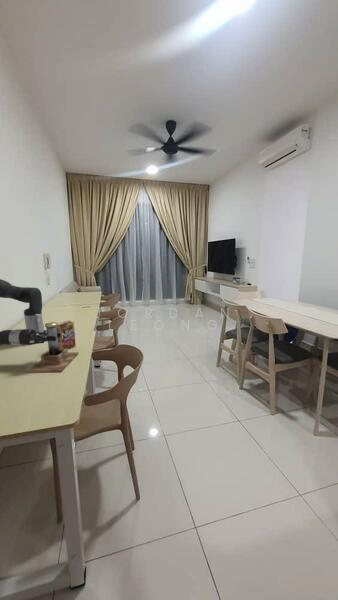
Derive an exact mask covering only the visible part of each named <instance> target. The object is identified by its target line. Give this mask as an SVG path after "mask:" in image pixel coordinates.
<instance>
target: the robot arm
mask: <svg viewBox="0 0 338 600" xmlns="http://www.w3.org/2000/svg"><path fill="white" fill-rule="evenodd" d="M42 295H43V294H42V291H41V290H40V289H39V288H38V287H32V286H31V287H30V286H29V287H26V286H24V287H23V286H22V287H21V286H16V285H14V284H13V285H12V283H10V282H9V281H7V280H5V279H1V278H0V298H1V299H11V300H15V301H17V302H20V303H25V304H29V305H28V308H25V309H24V310H23V315H24V323H25V324H24V325H25V328H22V329H21V328H20V329H19V328H18V329H4V330H3V329H2V330H0V346H4V345H6V346H8V345H15V346H32V345H37V344H44V343H48V341H56V336H48V337H47V330H45V324H44V322H43V320H44V319H43V313H42V311H43V298H42V297H43V296H42ZM57 336H58V338H60V337H61V333H57Z"/></svg>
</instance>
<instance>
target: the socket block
mask: <svg viewBox="0 0 338 600" xmlns="http://www.w3.org/2000/svg"><path fill="white" fill-rule="evenodd" d="M68 350H69V349H59V354H57V355H49V350H47V351H45V353H43V354H42V355H41V356H40V360H39V361H38V362H37V363H36V364H34V365H33V366H32V367H30V368H29V369H28V373H63V371H65V369H66V368H67V367H68V366H69V365H70V364H71V363H72V362H73V360H74V359H76V357H77V356H78V355H79V354H80V352H78V351H72V352H71V351H68Z"/></svg>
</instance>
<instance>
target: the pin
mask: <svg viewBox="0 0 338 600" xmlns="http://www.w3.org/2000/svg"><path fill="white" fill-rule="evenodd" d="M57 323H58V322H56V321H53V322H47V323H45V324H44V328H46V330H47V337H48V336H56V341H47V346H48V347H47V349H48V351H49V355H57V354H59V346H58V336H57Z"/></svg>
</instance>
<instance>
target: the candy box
mask: <svg viewBox="0 0 338 600" xmlns="http://www.w3.org/2000/svg"><path fill="white" fill-rule="evenodd" d="M56 323H57V333H61V337H60V338H58V346H59V349H67V350H69V349H73V348H75V347H76V346H77V345H76V333H75V321H74V320H71V319H70V320H67V321H62V322H56Z"/></svg>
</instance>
